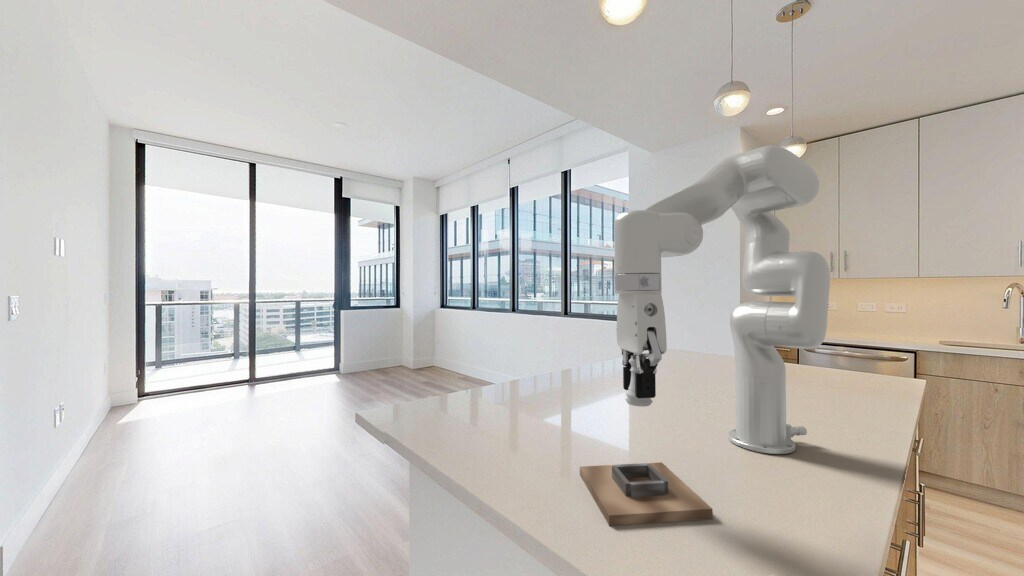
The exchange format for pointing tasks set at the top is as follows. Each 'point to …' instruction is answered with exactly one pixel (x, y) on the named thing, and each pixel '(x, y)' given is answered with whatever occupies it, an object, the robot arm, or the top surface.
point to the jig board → (642, 494)
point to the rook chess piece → (630, 393)
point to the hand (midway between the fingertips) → (638, 392)
